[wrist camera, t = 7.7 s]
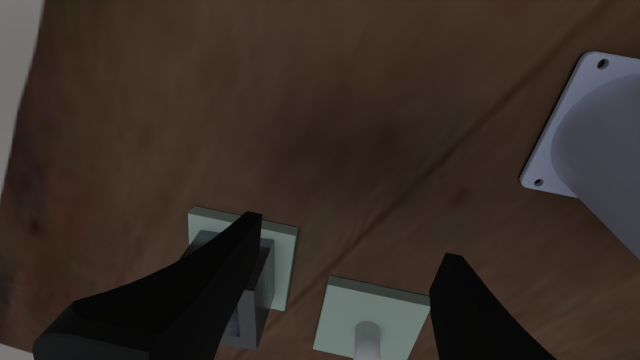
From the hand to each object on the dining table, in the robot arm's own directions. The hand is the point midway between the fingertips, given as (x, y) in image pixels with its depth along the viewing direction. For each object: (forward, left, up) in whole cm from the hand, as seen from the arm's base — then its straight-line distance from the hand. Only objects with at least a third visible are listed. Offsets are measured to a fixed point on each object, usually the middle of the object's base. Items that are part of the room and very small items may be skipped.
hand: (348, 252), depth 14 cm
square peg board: (-4, +15, -10) cm, 18 cm away
